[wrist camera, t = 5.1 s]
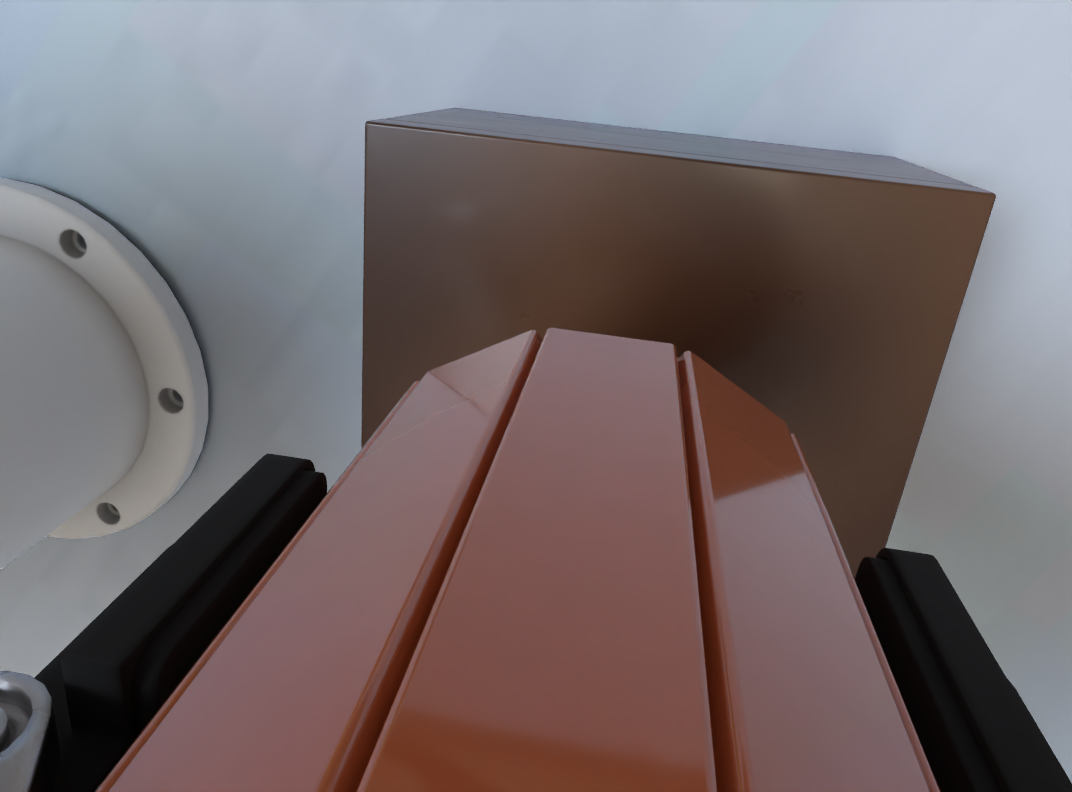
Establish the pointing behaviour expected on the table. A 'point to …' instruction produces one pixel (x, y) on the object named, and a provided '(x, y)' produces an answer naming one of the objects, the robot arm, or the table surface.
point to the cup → (551, 604)
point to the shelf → (678, 273)
